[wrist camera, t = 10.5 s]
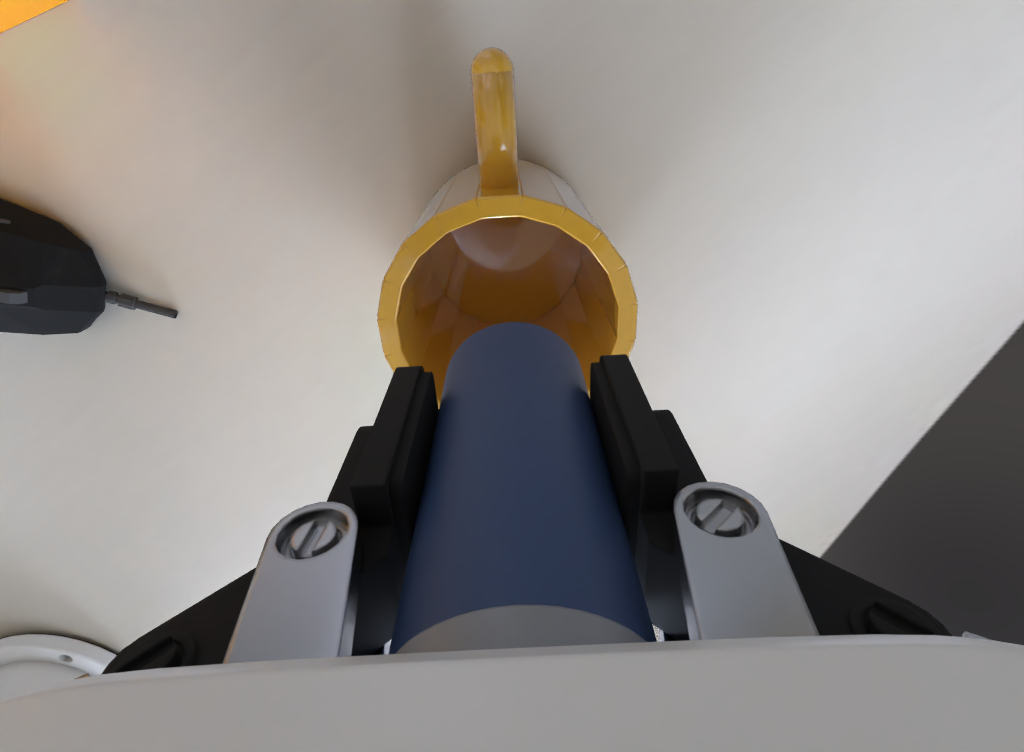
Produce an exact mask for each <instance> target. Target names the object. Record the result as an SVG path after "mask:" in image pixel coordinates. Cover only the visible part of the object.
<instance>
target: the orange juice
mask: <svg viewBox="0 0 1024 752" xmlns="http://www.w3.org/2000/svg"><path fill="white" fill-rule="evenodd" d="M66 1H68V0H0V33H2V32H4V31H6V30H8V29H10V28H12V27H14V26H16V25H18V24H20V23H22V22H25V21H27V20H29V19H31V18H33V17H35V16H37V15H39V14H41V13H43V12H45V11H48V10H50V9H52V8H54V7H56V6H58V5H60V4H62V3H64V2H66Z"/></svg>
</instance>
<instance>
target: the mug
mask: <svg viewBox="0 0 1024 752" xmlns="http://www.w3.org/2000/svg"><path fill="white" fill-rule="evenodd" d="M471 83H472V95H473V107H474V119H475V131H476V143H477V156H478V163H476V164H474V165H472V166H470V167H467V168H465V169H464V170H462V171H460V172H459V173H457V174H456V175H454V176H453V177H452V178H451V179H450V180H448V181H447V182H446V183H445V184H444V185H443V186H442V188H441V189H440V190H438V191H437V192H436V194H435V195H434V197H433V198H432V200H431V201H430V203H429V204H428V206H427V207H426V209H425V210H424V212H423V213H422V215H421V216H420V218H419V219H418V221H417V222H416V224H415V225H414V227H413V228H412V230H411V231H410V233H409V234H408V236H407V237H406V239H405V240H404V242H403V243H402V245H401V247H400V248H399V250H398V252H397V254H396V256H395V258H394V259H393V261H392V263H391V265H390V267H389V269H388V271H387V272H386V274H385V276H384V280H383V281H382V287H381V294H380V301H379V307H378V314H377V317H378V319H377V321H378V326H379V332H380V337H381V342H382V347H383V352H384V355H385V358H386V359H387V361H388V363H389V365H390V367H391V368H392V370H393V372H395V369H396V368H397V367H409V366H423V368H424V371H425V372H432V373H433V375H434V381H435V388H436V395H437V402H438V409H439V407H440V402H441V397H442V392H443V387H444V382H445V377H446V373H447V369H448V365H449V363H450V360H451V358H452V356H453V355H454V353H455V351H456V350H457V349H458V348H459V346H460V345H461V344H462V343H463V342H464V341H465V340H466V339H467V338H469V337H470V336H471V335H473V334H474V333H476V332H478V331H480V330H482V329H484V328H486V327H489V326H492V325H496V324H500V323H507V322H523V323H530V324H534V325H538V326H541V327H543V328H546V329H548V330H550V331H552V332H554V333H555V334H557V335H558V336H559V337H561V338H562V339H563V340H564V341H565V342H566V343H567V344H568V345H569V346H570V347H571V348H572V350H573V351H574V353H575V354H576V356H577V358H578V360H579V363H580V365H581V369H582V372H583V376H584V379H585V383H586V387H587V390H588V394H589V398H590V366H591V363H593V362H599V359H600V356H603V355H620V354H626V355H627V356H628V357H629V355H630V352H631V350H632V347H633V345H634V343H635V339H636V324H637V307H638V304H637V298H636V294H635V291H634V288H633V284H632V281H631V277H630V274H629V270H628V267H627V265H626V263H625V261H624V260H623V259H622V257H621V256H620V255H619V253H618V252H617V250H616V249H615V248H614V246H613V245H612V243H611V242H610V241H609V239H608V238H607V237H606V235H605V234H604V232H603V231H602V230H601V228H600V227H599V225H598V224H597V223H596V221H595V220H594V219H593V217H592V216H591V214H590V213H589V212H588V210H587V209H586V208H585V206H584V205H583V203H582V202H581V201H580V199H579V198H578V197H577V195H576V194H575V192H574V191H573V190H572V188H571V187H570V186H569V185H568V184H567V183H566V182H565V181H563V180H562V179H561V178H560V177H559V176H558V175H556V174H555V173H553V172H551V171H550V170H548V169H547V168H544V167H542V166H540V165H538V164H535V163H532V162H529V161H525V160H519V159H518V150H517V130H516V109H515V89H514V70H513V65H512V62H511V60H510V58H509V56H508V55H507V54H506V53H505V52H504V51H502V50H500V49H498V48H494V47H490V48H486V49H483V50H481V51H480V52H479V53H478V54H477V55H476V56H475V58H474V60H473V62H472V65H471Z"/></svg>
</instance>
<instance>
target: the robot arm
mask: <svg viewBox="0 0 1024 752" xmlns="http://www.w3.org/2000/svg"><path fill="white" fill-rule="evenodd" d="M590 402H591V405H592V409H593V412H594V416H595V420H596V423H597V427H598V431H599V434H600V438H601V442H602V445H603V449H604V453H605V456H606V460H607V463H608V467H609V471H610V474H611V478H612V482H613V485H614V489H615V493H616V496H617V500H618V504H619V507H620V511H621V514H622V518H623V522H624V525H625V528H626V532H627V535H628V539H629V543H630V546H631V550H632V554H633V557H634V561H635V564H636V568H637V572H638V575H639V579H640V583H641V586H642V590H643V593H644V597H645V601H646V604H647V608H648V612H649V615H650V619H651V623H652V624H653V625H655V626H656V627H658V628H659V642H639V643H615V644H593V645H571V646H550V647H528V648H507V649H486V650H466V651H445V652H424V653H405V654H389V650H390V640H391V639H392V635H393V630H394V625H395V621H396V616H397V611H398V606H399V601H400V596H401V591H402V586H403V582H404V577H405V572H406V567H407V562H408V557H409V552H410V548H411V543H412V538H413V533H414V528H415V523H416V518H417V514H418V509H419V504H420V499H421V494H422V489H423V484H424V480H425V475H426V470H427V465H428V460H429V455H430V450H431V446H432V441H433V436H434V431H435V426H436V421H437V416H438V412H439V409H438V402H437V395H436V388H435V381H434V375H433V373H432V372H425V371H424V368H423V366H409V367H397V368H396V369H395V372H394V374H393V377H392V379H391V382H390V385H389V387H388V390H387V392H386V395H385V397H384V400H383V402H382V405H381V408H380V410H379V413H378V415H377V418H376V420H375V423H374V425H373V426H362V427H360V428H359V429H358V431H357V433H356V435H355V437H354V440H353V442H352V444H351V446H350V449H349V451H348V453H347V456H346V458H345V460H344V463H343V465H342V467H341V470H340V472H339V474H338V477H337V479H336V481H335V484H334V486H333V488H332V490H331V493H330V495H329V497H328V500H327V502H319V503H314V504H310V505H306V506H304V507H302V508H299V509H297V510H295V511H293V512H291V513H290V514H288V515H287V516H285V517H284V518H282V519H281V520H280V521H279V522H278V523H277V524H276V525H275V526H274V527H273V528H272V530H271V532H270V533H269V535H268V537H267V539H266V542H265V544H264V547H263V550H262V553H261V556H260V558H259V561H258V564H257V567H256V568H254V569H253V570H251V571H249V572H248V573H246V574H244V575H243V576H241V577H239V578H238V579H236V580H234V581H233V582H231V583H229V584H228V585H226V586H224V587H223V588H221V589H220V590H218V591H216V592H215V593H213V594H211V595H210V596H208V597H206V598H205V599H203V600H201V601H200V602H198V603H196V604H195V605H193V606H191V607H190V608H188V609H186V610H185V611H183V612H181V613H180V614H178V615H176V616H175V617H173V618H171V619H170V620H168V621H166V622H165V623H163V624H161V625H160V626H158V627H156V628H155V629H153V630H152V631H150V632H148V633H147V634H145V635H143V636H142V637H140V638H138V639H137V640H136V641H134V642H133V643H131V644H130V645H129V646H127V647H126V648H124V649H123V650H122V651H121V652H120V653H119V654H118V655H116V654H114V653H112V652H109V651H107V650H105V649H103V648H101V647H98V646H95V645H92V644H89V643H87V642H84V641H80V640H76V639H72V638H67V637H62V636H54V635H46V634H25V635H17V636H10V637H6V638H3V639H0V752H1024V646H1022V645H1016V644H1011V643H1005V642H998V641H993V640H990V639H987V638H984V637H981V636H978V635H975V634H972V633H969V632H964V634H963V636H962V637H953V636H952V635H951V634H950V633H949V632H948V631H947V629H946V628H945V627H944V625H943V624H941V623H940V622H939V621H938V620H937V619H935V618H934V617H933V616H932V615H931V614H929V613H928V612H927V611H925V610H924V609H922V608H920V607H919V606H917V605H915V604H913V603H912V602H910V601H908V600H906V599H904V598H901V597H900V596H898V595H896V594H893V593H891V592H889V591H887V590H885V589H883V588H881V587H879V586H877V585H875V584H873V583H870V582H868V581H866V580H864V579H862V578H860V577H858V576H856V575H853V574H851V573H850V572H847V571H845V570H843V569H841V568H839V567H837V566H835V565H832V564H831V563H829V562H826V561H824V560H822V559H820V558H818V557H816V556H814V555H812V554H810V553H808V552H806V551H803V550H801V549H799V548H797V547H795V546H793V545H791V544H789V543H787V542H785V541H782V540H780V539H779V538H778V536H777V534H776V531H775V529H774V527H773V524H772V522H771V519H770V517H769V515H768V513H767V511H766V510H765V508H764V506H763V505H762V503H761V502H759V501H758V500H757V499H756V498H755V497H754V496H752V495H751V494H749V493H747V492H746V491H744V490H742V489H740V488H738V487H735V486H731V485H728V484H725V483H718V482H707V480H706V478H705V476H704V475H703V473H702V471H701V469H700V467H699V465H698V463H697V461H696V459H695V457H694V455H693V453H692V451H691V449H690V447H689V445H688V443H687V441H686V440H685V438H684V436H683V434H682V432H681V430H680V428H679V426H678V424H677V422H676V420H675V418H674V416H673V414H672V413H671V412H670V411H669V410H654V411H652V409H651V407H650V404H649V402H648V400H647V398H646V396H645V393H644V391H643V389H642V387H641V385H640V383H639V380H638V378H637V376H636V374H635V372H634V369H633V367H632V365H631V363H630V361H629V359H628V356H627V355H626V354H620V355H603V356H600V359H599V362H593V363H591V366H590Z"/></svg>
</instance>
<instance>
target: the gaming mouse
mask: <svg viewBox="0 0 1024 752" xmlns="http://www.w3.org/2000/svg"><path fill="white" fill-rule="evenodd" d="M105 300H106V302H108V303H112V304H116V303H117V304H118V306H121V307H124V308H128V309H132V310H135V309H136V308H138V309H142V310H145V311H149V312H153V313H156V314H160V315H164V316H168V317H171V318H176V317H177V314H178V311H175V310H172V309H168V308H164V307H161V306H157V305H153V304H150V303H146V302H142V301H139V300H138V298H137V297H134V296H130V295H127V294H120V295H119V293H117V292H114V291H109V292H107V291H106V280H105V278H104V275H103V273H102V271H101V269H100V266H99V264H98V262H97V260H96V257H95V255H94V253H93V251H92V248H91V247H89V246H88V245H87V244H85V243H84V242H83V241H82V240H80V239H79V238H78V237H77V236H75V235H74V234H73V233H72V232H70V231H69V230H68V229H66V228H65V227H64V226H63V225H61V224H60V223H59V222H56V221H54V220H52V219H49V218H47V217H44V216H42V215H40V214H37V213H35V212H33V211H30V210H28V209H26V208H23V207H21V206H18V205H16V204H13V203H11V202H8V201H5V200H3V199H0V332H10V333H25V334H41V335H47V334H67V333H79V332H81V331H83V330H85V329H87V328H89V327H90V326H91V325H92V323H93V322H94V321H95V319H96V318H97V317H98V316H99V315H100V314H101V313H102V312H104V309H105Z"/></svg>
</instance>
